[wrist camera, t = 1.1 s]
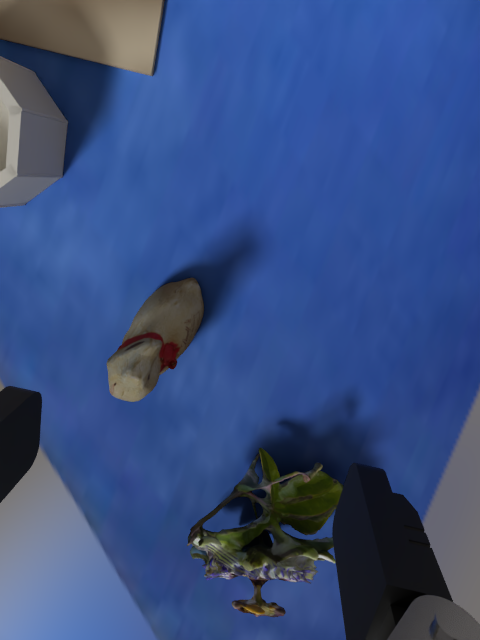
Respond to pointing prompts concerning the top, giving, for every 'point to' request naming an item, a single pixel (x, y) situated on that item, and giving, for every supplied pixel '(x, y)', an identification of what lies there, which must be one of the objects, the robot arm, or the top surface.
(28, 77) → the octagonal hollow cup
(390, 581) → the robot arm
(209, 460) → the top surface
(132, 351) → the chocolate bunny
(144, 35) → the birch lid
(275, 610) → the passion flower
